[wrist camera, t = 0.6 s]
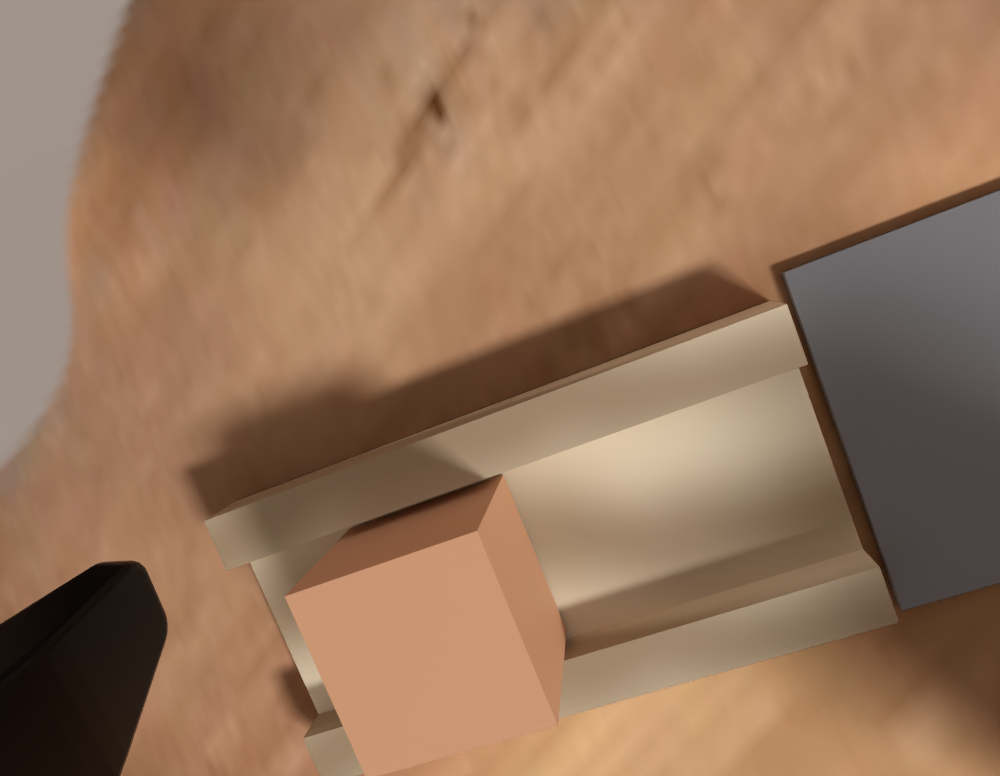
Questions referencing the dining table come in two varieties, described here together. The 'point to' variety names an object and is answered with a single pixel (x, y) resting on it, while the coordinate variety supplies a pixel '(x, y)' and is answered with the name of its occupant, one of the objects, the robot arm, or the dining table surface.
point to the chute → (617, 515)
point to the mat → (917, 390)
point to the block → (435, 630)
